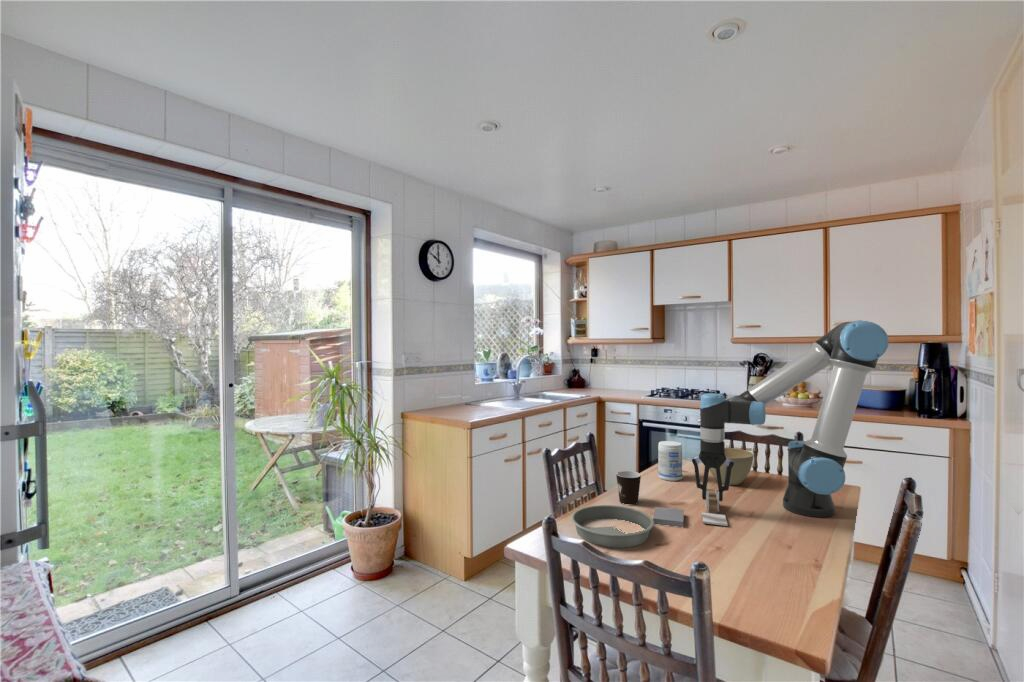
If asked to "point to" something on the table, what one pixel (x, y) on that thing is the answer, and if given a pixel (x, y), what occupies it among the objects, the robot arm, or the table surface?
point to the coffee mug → (628, 486)
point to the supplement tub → (670, 460)
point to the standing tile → (668, 516)
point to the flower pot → (735, 465)
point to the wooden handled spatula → (713, 511)
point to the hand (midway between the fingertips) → (712, 509)
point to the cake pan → (609, 534)
